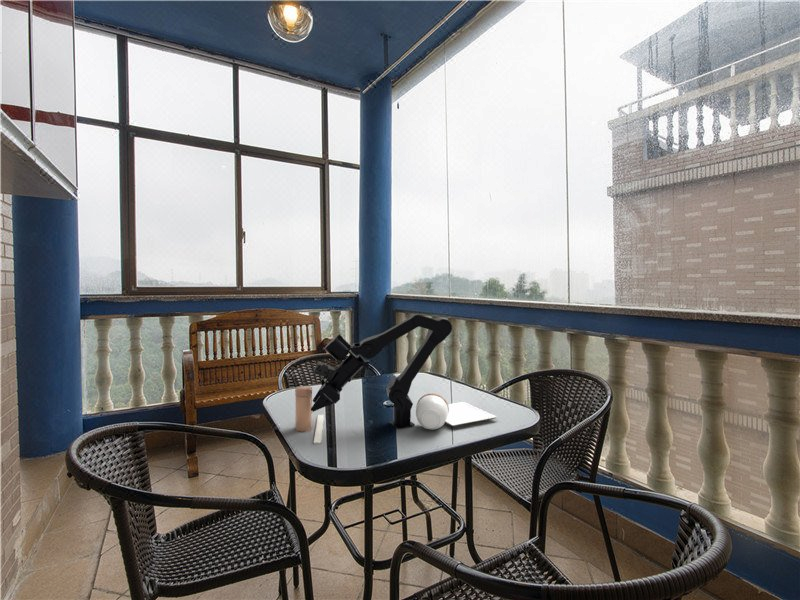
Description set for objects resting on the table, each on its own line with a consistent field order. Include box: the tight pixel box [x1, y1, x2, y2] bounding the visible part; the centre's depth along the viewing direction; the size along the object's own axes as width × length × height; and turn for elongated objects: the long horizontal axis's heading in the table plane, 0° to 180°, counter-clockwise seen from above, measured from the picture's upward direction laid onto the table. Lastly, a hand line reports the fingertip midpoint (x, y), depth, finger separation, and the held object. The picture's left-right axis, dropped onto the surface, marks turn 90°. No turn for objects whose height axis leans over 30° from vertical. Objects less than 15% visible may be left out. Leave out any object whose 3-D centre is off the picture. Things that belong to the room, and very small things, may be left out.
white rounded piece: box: [415, 393, 449, 431], centre depth 127 cm, size 11×11×9 cm
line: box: [313, 414, 325, 445], centre depth 126 cm, size 24×2×1 cm, turn 9°
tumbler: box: [294, 385, 313, 433], centre depth 126 cm, size 5×5×13 cm
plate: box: [444, 401, 498, 427], centre depth 139 cm, size 19×19×2 cm
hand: (312, 406), depth 126 cm, fingers open, 9 cm apart
